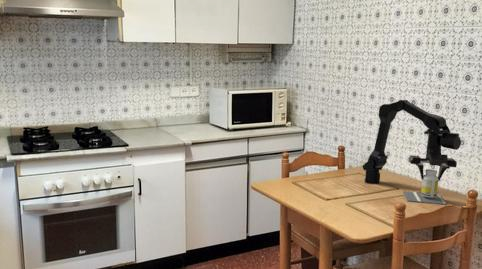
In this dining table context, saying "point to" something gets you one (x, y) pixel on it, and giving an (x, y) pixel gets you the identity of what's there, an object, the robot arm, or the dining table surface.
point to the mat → (423, 198)
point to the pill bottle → (430, 184)
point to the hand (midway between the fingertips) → (430, 180)
